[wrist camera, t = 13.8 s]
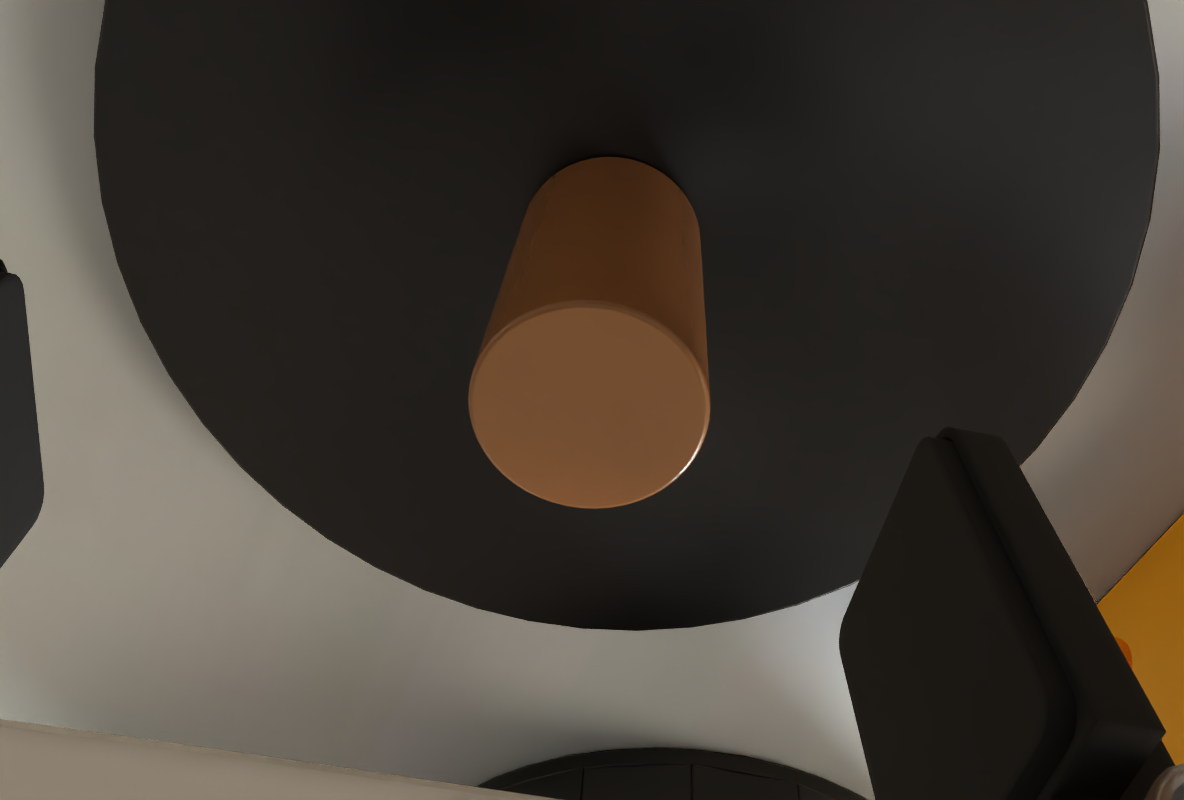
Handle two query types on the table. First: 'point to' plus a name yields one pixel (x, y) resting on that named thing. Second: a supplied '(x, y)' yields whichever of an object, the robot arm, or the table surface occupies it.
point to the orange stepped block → (1155, 630)
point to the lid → (622, 268)
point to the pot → (665, 778)
